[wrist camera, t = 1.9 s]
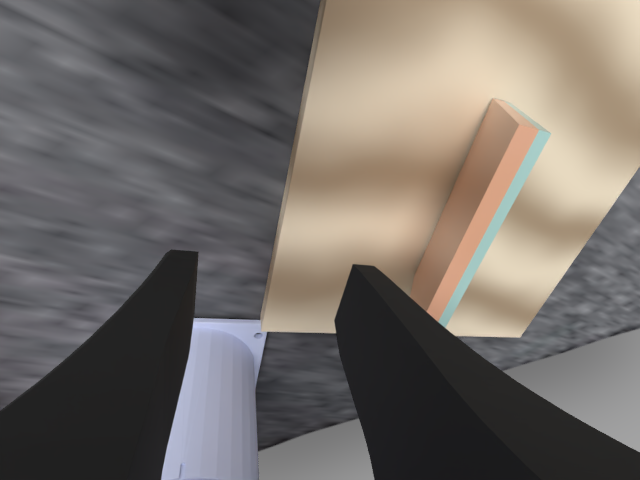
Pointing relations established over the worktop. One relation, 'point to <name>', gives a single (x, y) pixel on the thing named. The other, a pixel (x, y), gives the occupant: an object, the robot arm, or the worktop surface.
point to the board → (451, 147)
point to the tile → (477, 206)
